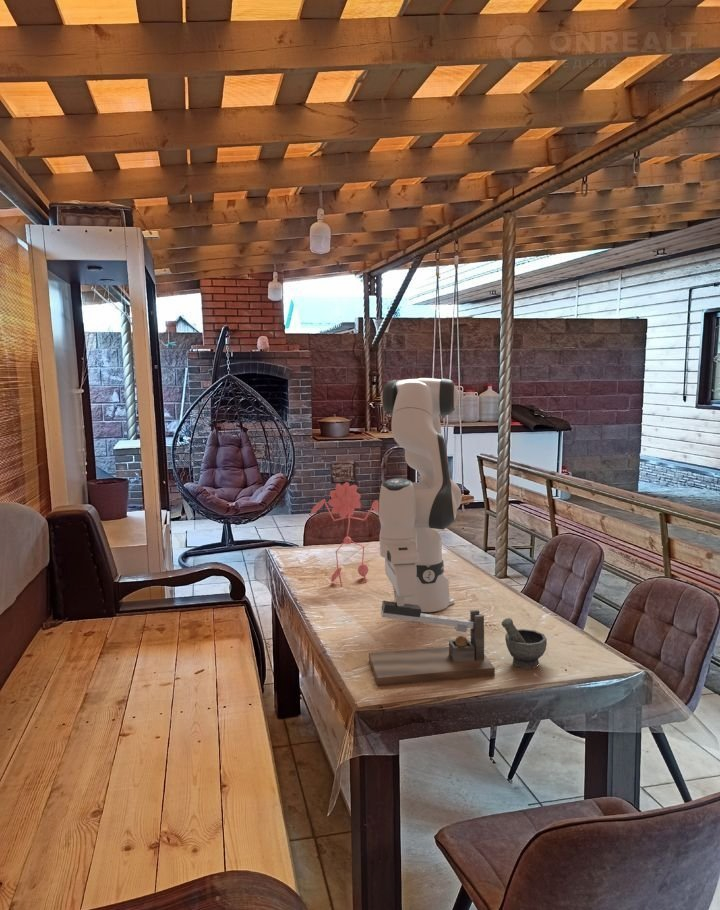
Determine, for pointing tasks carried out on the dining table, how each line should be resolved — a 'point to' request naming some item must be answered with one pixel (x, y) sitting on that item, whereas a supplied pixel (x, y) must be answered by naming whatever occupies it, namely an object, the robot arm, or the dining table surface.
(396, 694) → the dining table surface
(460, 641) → the nut
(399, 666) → the press base
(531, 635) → the mortar and pestle
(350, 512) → the figurine
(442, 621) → the lever
